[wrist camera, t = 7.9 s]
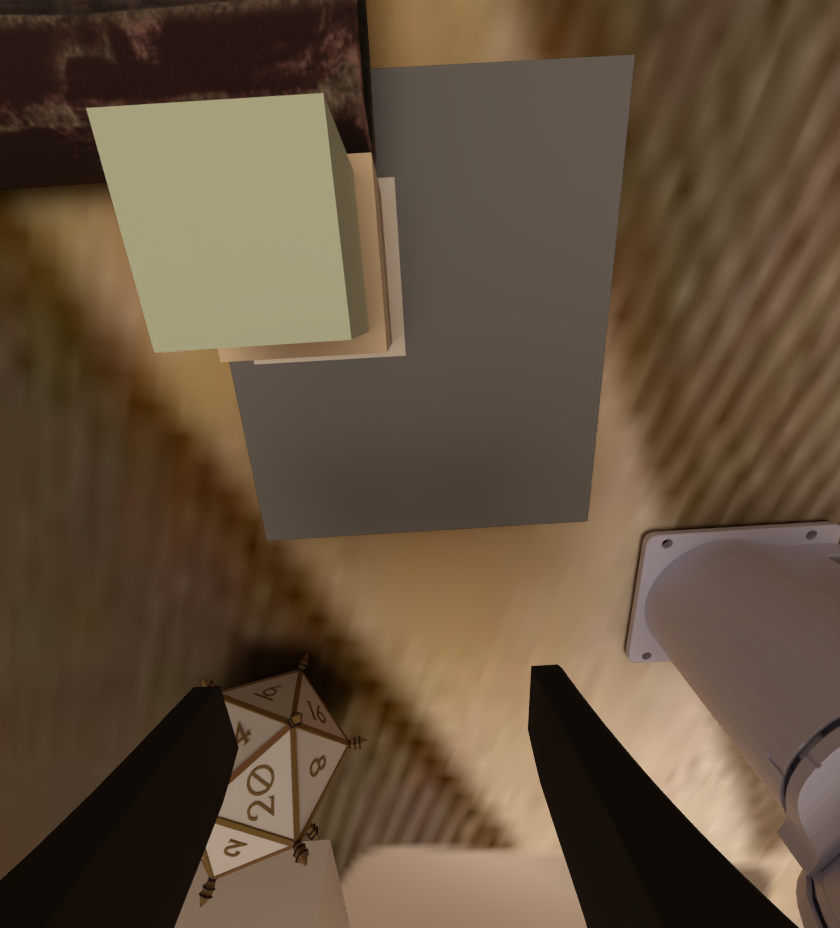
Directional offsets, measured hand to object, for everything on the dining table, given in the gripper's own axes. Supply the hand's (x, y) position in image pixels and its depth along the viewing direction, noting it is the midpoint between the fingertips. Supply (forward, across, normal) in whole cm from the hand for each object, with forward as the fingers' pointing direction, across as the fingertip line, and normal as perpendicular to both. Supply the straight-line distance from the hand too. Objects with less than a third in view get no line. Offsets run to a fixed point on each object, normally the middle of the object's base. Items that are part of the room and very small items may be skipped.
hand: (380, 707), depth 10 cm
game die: (+11, +7, +11) cm, 17 cm away
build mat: (+10, -2, -8) cm, 13 cm away
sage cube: (+6, +2, -10) cm, 12 cm away
